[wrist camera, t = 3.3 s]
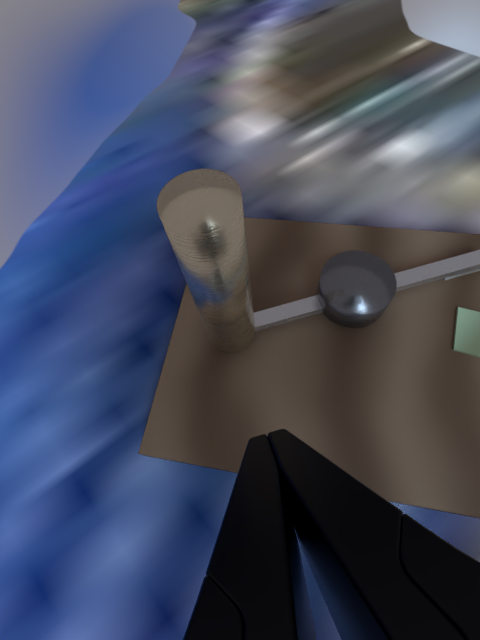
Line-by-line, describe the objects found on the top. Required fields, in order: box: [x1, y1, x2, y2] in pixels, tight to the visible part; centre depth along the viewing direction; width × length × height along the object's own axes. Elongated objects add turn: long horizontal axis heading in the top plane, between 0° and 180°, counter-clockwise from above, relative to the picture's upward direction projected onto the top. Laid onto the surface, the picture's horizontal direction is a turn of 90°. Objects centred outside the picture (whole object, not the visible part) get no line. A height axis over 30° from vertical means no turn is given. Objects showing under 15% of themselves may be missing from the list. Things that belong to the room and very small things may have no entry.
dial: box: [157, 169, 480, 353], centre depth 17 cm, size 19×4×11 cm, turn 105°
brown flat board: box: [138, 217, 480, 518], centre depth 22 cm, size 24×18×2 cm
